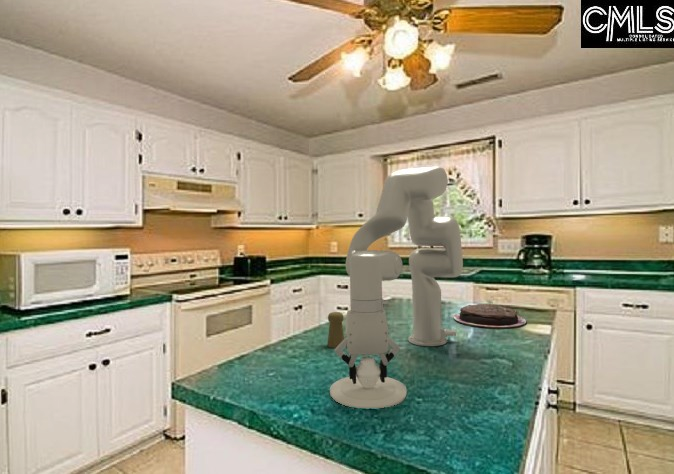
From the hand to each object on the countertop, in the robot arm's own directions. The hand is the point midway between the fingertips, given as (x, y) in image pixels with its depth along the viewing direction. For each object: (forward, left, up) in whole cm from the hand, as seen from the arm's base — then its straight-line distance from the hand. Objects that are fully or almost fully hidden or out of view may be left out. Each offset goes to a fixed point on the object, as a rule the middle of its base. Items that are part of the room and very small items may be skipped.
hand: (368, 380), depth 96 cm
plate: (0, 0, -3) cm, 3 cm away
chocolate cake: (-59, -66, -4) cm, 88 cm away
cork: (+5, -40, -3) cm, 40 cm away
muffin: (0, 0, -1) cm, 1 cm away
